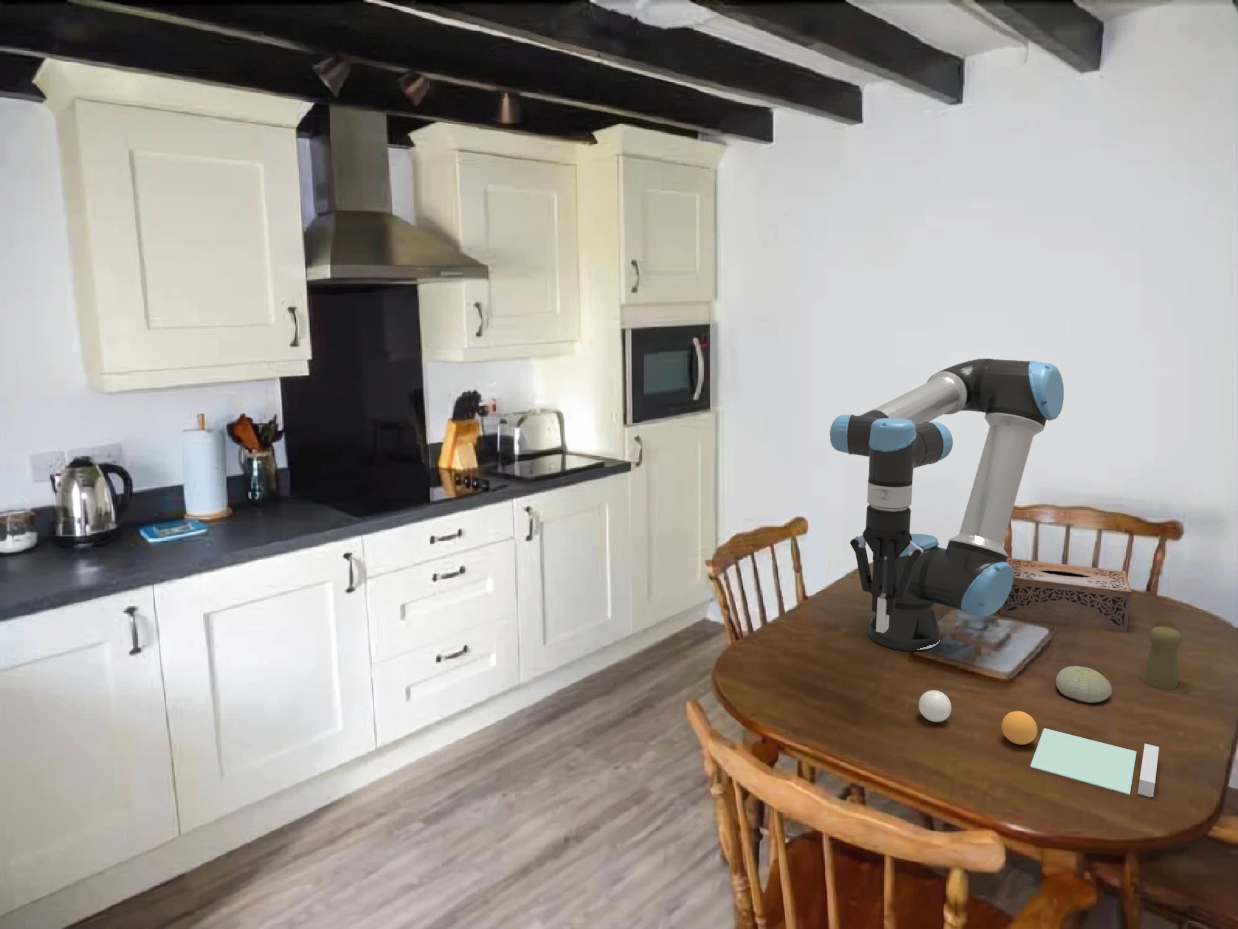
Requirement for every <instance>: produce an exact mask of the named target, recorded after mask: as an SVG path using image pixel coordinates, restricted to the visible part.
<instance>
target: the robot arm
mask: <svg viewBox="0 0 1238 929" xmlns="http://www.w3.org/2000/svg"><path fill="white" fill-rule="evenodd" d="M1064 388H1065V387H1064V382H1063V378H1062V374H1061V372H1060V370H1059V368H1058V367H1057V366H1056V365H1054V364H1053V363H1049V362H1042V361H1037V360H1013V359H993V358H978V359H972V360H968V361H964V362H961V363H958V364H954V365H951V366H948V367H946V368H944V369H941V370H940V371H937V372H935V373H934V374H932V375H930V377H929V378H928V379H927V380H926V383H924V384H922V385H919V386H918V387H916V388H914V389H911V390H909V391H907V392H905V393H903V394H902V395H899V396H897V397H896V398H895V397H894V398H893V399H891V400H890V401H888V402H885V403H883V404H881V405H879V406H877V407H875V408H873V409H871V410H868V411H866V412H865V413H862V414H859V415H855V414H840V415H838V416H836V417H835V419H834V420H833V421H832V423H831V426H830V429H829V437H830V438H829V441H830V445H831V446H832V448H833V449H834V450H836V451H837V452H841V453H845V454H849V455H855V456H863V457H867V458H868V480H867V498H866V502H867V503H868V506H866V514H865V515H866V518H865V528H864V530H863V532H862V534H861V535H859V536H855V537H854V538H852V539H851V540H850V541H849V544H850V546H851V548H852V549H853V551H854V553H855V558H856V564H857V568H858V574H859V578H860V584H861V588H862V590H863V591H864V592H868V593H869V594H870V595H871V611H872V615H871V619H870V620H869V624H868V635H869V637H870V638H871V640H873V642H875V643H877V644H879V645H881V646H883V647H887V648H890V649H895V650H899V651H909V652H910V651H912V652H915V651H914V650H917V649H920V648H923V647H927V646H929V645H933V644H936V643H937V642H939V640H940V641H941V637H942V636H941V634H942V633H941V632H942V631H941V628H940V624H939V620H938V616H937V614H936V613H937V612H936V610H935V604H938V605H941V606H944V607H948V608H951V609H955V610H958V611H962V612H963V613H965V614H974V615H977V616H979V617H980V616H982V617H987V616H991V615H994V614H995V613H997V611H999V610H1000V608H1001V607H1002V605H1003V604H1004V603H1005V601H1006V599H1007V597H1008V595H1009V593H1010V591H1011V588H1012V585H1013V576H1014V572H1013V569H1012V567H1011V566H1010V565H1009V564H1008V563H1006V562H1007V558H1009V555H1008V553H1007V552H1006V550H1005V548H1004V541H1005V538H1006V536H1007V535H1006V534H1007V532H1008V528H1009V524H1010V520H1011V517H1012V513H1013V510H1014V507H1015V502H1016V500H1017V496H1018V493H1019V488H1020V485H1021V481H1022V478H1023V474H1024V471H1025V468H1026V463H1027V460H1028V457H1029V453H1030V449H1031V447H1032V446H1031V445H1032V443H1033V439H1034V437H1035V436H1036V435H1038V434H1039V433H1041V432H1043V431H1044V430H1045V426H1046V422H1047V421H1048V422H1049V421H1052V420H1054V421H1055V420H1056V419H1057V418H1059V415H1060V414H1061V413H1062V408H1063V406H1064V401H1065V400H1064V399H1065V398H1064V396H1065V391H1064V390H1065V389H1064ZM962 411H963V412H977V413H984V419H985V421H986V422H987V424H988V426H989V428H988V432H987V435H986V439H985V442H984V446H983V449H982V453H981V457H980V459H979V462H978V465H977V466H978V467H977V471H976V474H975V477H974V481H973V484H972V488H971V491H970V495H969V498H968V501H967V505H966V508H965V511H964V516H963V517H962V518H963V519H962V521H961V522H962V523H961V526H960V529H959V533H958V534H957V535H956V536H954V537H952V538H950V539H949V540H948V543H947V546H946V548H943V547H939V545H940V544H939V541H938V538H937V537H935V536H933V535H931V534H930V535H929V534H925V533H924V534H923V533H911V530H910V529H911V514H912V510H911V508H910V506H911V505H912V500H913V498H912V496H913V478H914V476H913V475H914V469H916V468H919V467H924V466H926V465H932V464H936V463H938V462H939V461H942V460H944V459H945V458H947V457H948V456H949V455H950V453H951V452H952V449H953V445H954V441H953V436H952V433H951V431H950V430H949V428H948V427H947V426H946V425H945V424H943V423H941V422H938V421H934V420H935V419H937V418H938V417H940V416H943V415H947V416H949V415H954V414H956V413H958V412H962ZM866 545H867V546H868V547H869V549H870V551H871V552H872V561H873V562H872V564H873V565H872V574H871V568H870V563H869V557H868V553H867V552H868V551H867V549H866Z"/></svg>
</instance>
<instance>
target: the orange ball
mask: <svg viewBox="0 0 1238 929" xmlns="http://www.w3.org/2000/svg"><path fill="white" fill-rule="evenodd" d="M1001 730H1002V733H1003V735H1004V736H1005V738H1007V740H1008V741H1010V742H1011V743H1013V744H1016V745H1027V744H1030V743H1031V742H1033V741H1034V740H1035V739H1036V737H1037V734H1038V726H1037V722H1036V721H1035V719H1034V718H1033V717H1032V716H1031V715H1030V714H1028V713H1027V712H1024V711H1020V710H1015V711H1014V710H1013V711H1011V712H1009V713H1007V714H1006V715H1004V717H1003V719H1002V721H1001Z"/></svg>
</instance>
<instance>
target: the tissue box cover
mask: <svg viewBox="0 0 1238 929" xmlns="http://www.w3.org/2000/svg"><path fill="white" fill-rule="evenodd" d="M1006 563H1008V564H1009V565H1010V566H1011V567H1012V569H1013V572H1014V576H1013V585H1012V588H1011V591H1010V593H1009V595H1008V597H1007V599H1006V601H1005V603H1004V604H1003V605H1002V607H1001V608H1000V609H999V616H1003V617H1009V618H1010V617H1011V618H1018V619H1025V620H1032V621H1037V622H1038V621H1039V622H1044V623H1045V622H1046V623H1052V624H1059V625H1066V626H1067V625H1068V626H1073V627H1080V628H1088V629H1094V630H1095V629H1096V630H1103V631H1109V632H1110V631H1111V632H1116V633H1123V634H1127V632H1128V624H1129V615H1130V606H1131V599H1132V589H1131V586H1130V582H1129V578H1128V575H1127V571H1125V570H1119V569H1118V570H1117V569H1110V568H1109V569H1108V568H1101V567H1100V568H1099V567H1092V566H1081V565H1073V564H1064V563H1055V562H1049V561H1048V562H1045V561H1038V560H1031V559H1030V560H1029V559H1021V558H1012V557H1008V558H1007V562H1006Z"/></svg>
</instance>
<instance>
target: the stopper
mask: <svg viewBox="0 0 1238 929" xmlns="http://www.w3.org/2000/svg"><path fill="white" fill-rule="evenodd" d="M1143 747H1144V748H1143V754H1142V761H1141V767H1140V768H1141V769H1140V776H1139V783H1138V790H1137V794H1138V795H1142V796H1145V797H1147V798H1151V797H1153V798H1154V795H1155V794H1154V793H1155V786H1156V776H1157V768H1158V759H1159V750H1160V746H1157V745H1152V744H1148V743H1144V745H1143Z"/></svg>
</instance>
